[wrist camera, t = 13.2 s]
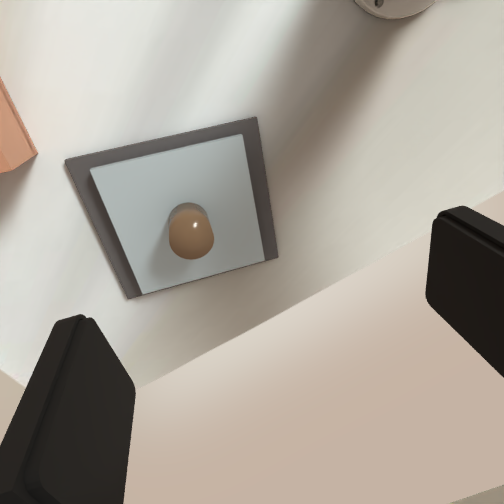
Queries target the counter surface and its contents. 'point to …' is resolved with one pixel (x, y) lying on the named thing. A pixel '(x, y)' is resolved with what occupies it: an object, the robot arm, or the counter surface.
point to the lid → (183, 212)
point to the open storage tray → (12, 135)
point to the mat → (84, 163)
